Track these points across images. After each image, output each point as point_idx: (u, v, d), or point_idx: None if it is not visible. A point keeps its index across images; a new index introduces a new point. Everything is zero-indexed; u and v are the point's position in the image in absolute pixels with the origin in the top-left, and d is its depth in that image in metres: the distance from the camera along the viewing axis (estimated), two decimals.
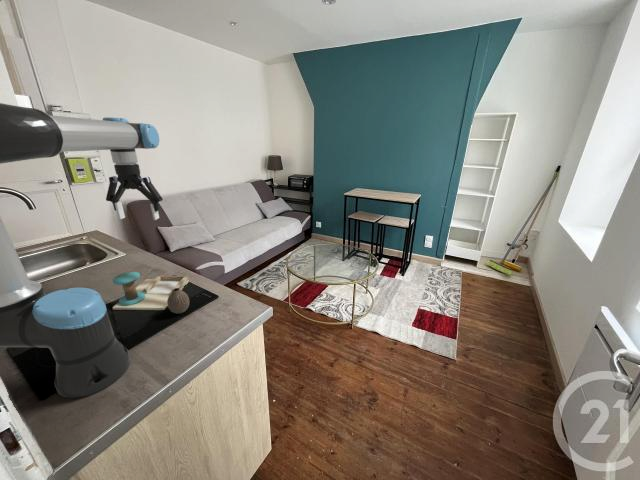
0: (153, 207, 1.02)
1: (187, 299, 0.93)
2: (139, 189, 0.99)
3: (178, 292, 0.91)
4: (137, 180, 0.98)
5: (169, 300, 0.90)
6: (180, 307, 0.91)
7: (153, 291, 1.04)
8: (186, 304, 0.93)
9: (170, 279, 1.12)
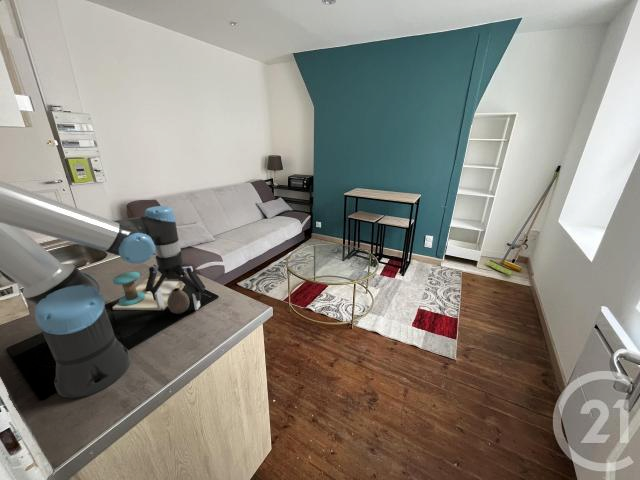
0: (195, 297, 0.92)
1: (187, 299, 0.93)
2: (181, 280, 0.89)
3: (178, 292, 0.91)
4: (180, 270, 0.88)
5: (169, 300, 0.90)
6: (180, 307, 0.91)
7: None
8: (186, 304, 0.93)
9: (170, 279, 1.12)
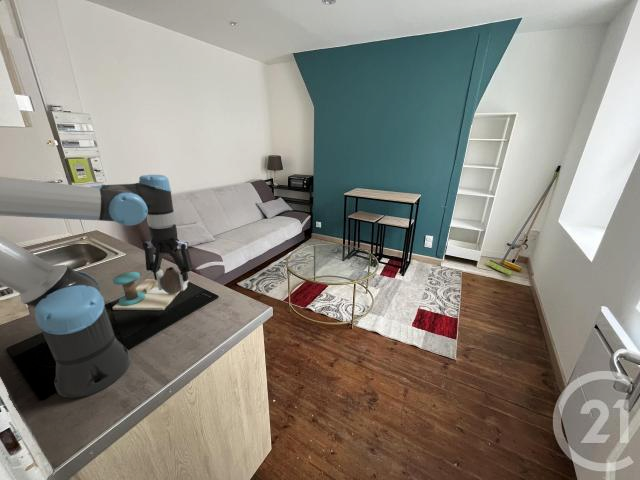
0: (182, 277, 0.88)
1: None
2: (172, 255, 0.85)
3: (172, 271, 0.88)
4: (174, 244, 0.84)
5: (163, 279, 0.87)
6: (174, 287, 0.88)
7: (153, 291, 1.04)
8: None
9: None
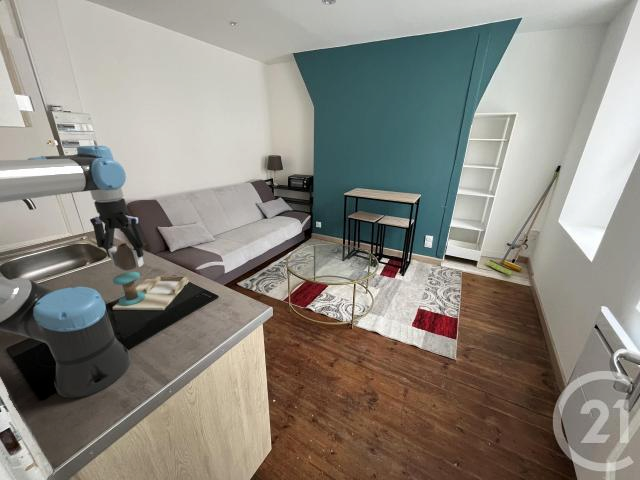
0: (136, 253, 0.86)
1: None
2: (123, 230, 0.83)
3: (125, 247, 0.86)
4: (123, 219, 0.82)
5: (115, 255, 0.85)
6: (128, 263, 0.86)
7: (153, 291, 1.04)
8: None
9: (170, 279, 1.12)
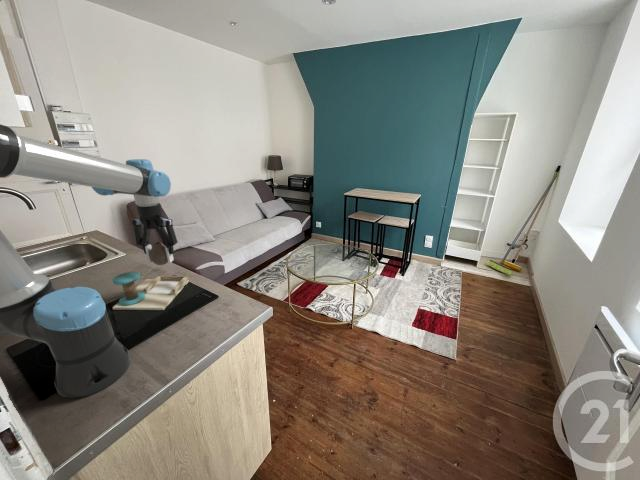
0: (168, 250, 1.00)
1: None
2: (158, 231, 0.97)
3: (159, 245, 1.00)
4: (159, 221, 0.96)
5: (151, 252, 0.99)
6: (161, 258, 1.00)
7: (153, 291, 1.04)
8: None
9: (170, 279, 1.12)
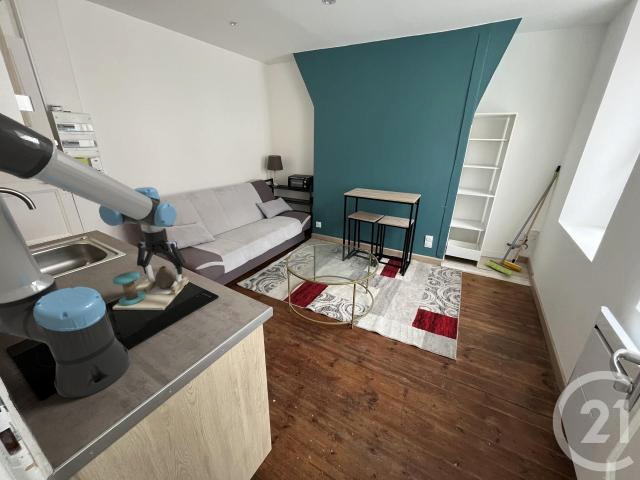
0: (177, 271, 1.04)
1: (172, 276, 1.06)
2: (165, 254, 1.00)
3: (164, 269, 1.04)
4: (164, 245, 0.99)
5: (156, 276, 1.03)
6: (166, 283, 1.04)
7: (153, 291, 1.04)
8: (172, 280, 1.05)
9: None
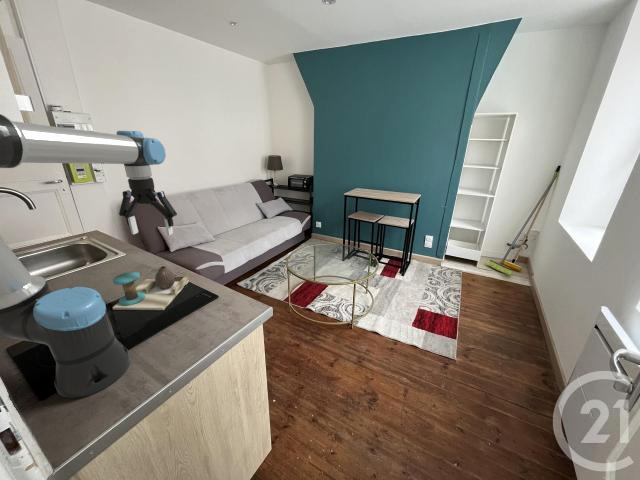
0: (167, 222, 0.98)
1: (172, 276, 1.06)
2: (153, 204, 0.95)
3: (164, 269, 1.04)
4: (151, 195, 0.94)
5: (156, 276, 1.03)
6: (166, 283, 1.04)
7: (153, 291, 1.04)
8: (172, 280, 1.05)
9: None
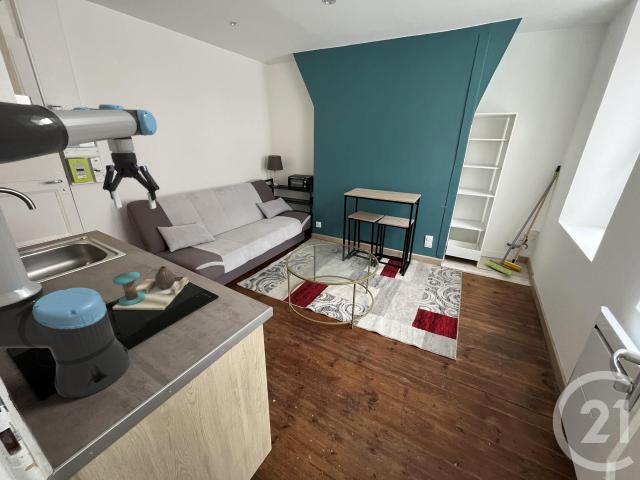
0: (150, 196, 1.02)
1: (172, 276, 1.06)
2: (136, 178, 0.99)
3: (164, 269, 1.04)
4: (134, 168, 0.98)
5: (156, 276, 1.03)
6: (166, 283, 1.04)
7: (153, 291, 1.04)
8: (172, 280, 1.05)
9: None
